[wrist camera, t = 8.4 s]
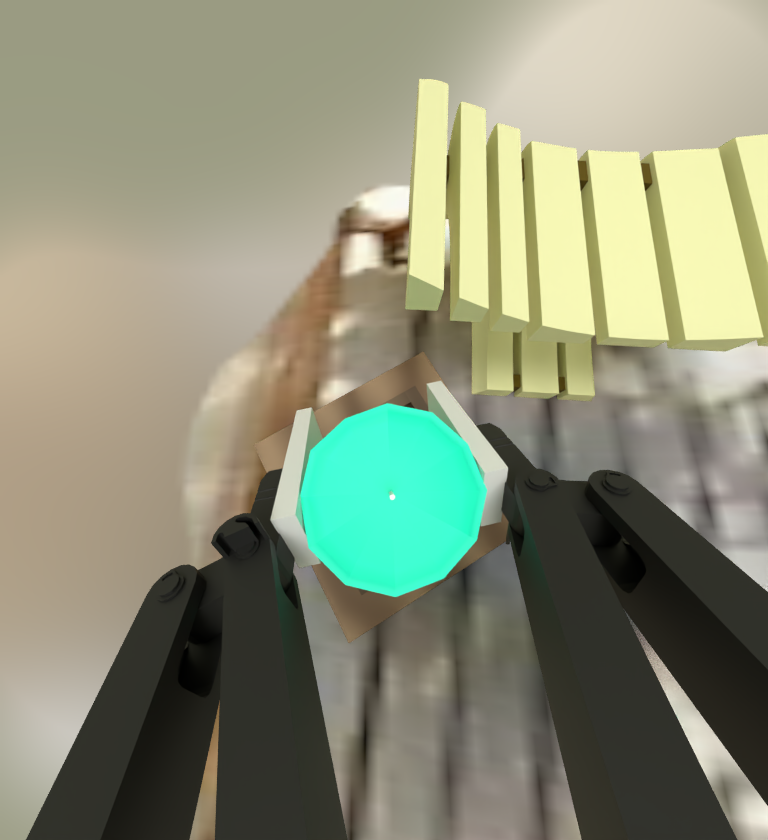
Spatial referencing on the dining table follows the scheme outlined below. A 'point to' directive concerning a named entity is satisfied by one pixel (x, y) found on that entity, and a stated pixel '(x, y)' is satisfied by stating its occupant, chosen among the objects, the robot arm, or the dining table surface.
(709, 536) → the dining table surface
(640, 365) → the dining table surface
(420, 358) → the brown square tray
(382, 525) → the candle
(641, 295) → the slatted curved stool
